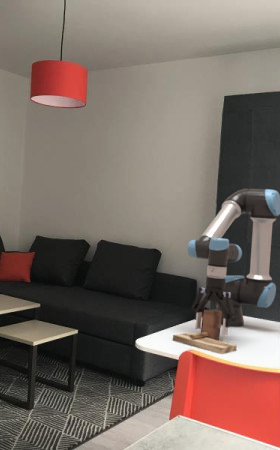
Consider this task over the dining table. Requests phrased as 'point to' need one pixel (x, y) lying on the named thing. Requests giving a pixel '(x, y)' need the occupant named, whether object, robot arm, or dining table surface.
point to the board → (205, 343)
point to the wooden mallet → (210, 325)
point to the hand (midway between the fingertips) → (210, 331)
